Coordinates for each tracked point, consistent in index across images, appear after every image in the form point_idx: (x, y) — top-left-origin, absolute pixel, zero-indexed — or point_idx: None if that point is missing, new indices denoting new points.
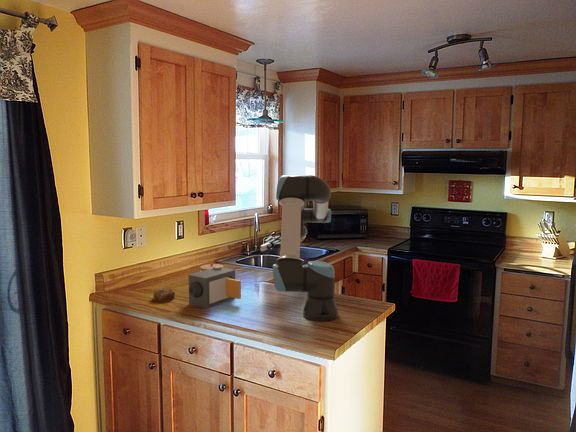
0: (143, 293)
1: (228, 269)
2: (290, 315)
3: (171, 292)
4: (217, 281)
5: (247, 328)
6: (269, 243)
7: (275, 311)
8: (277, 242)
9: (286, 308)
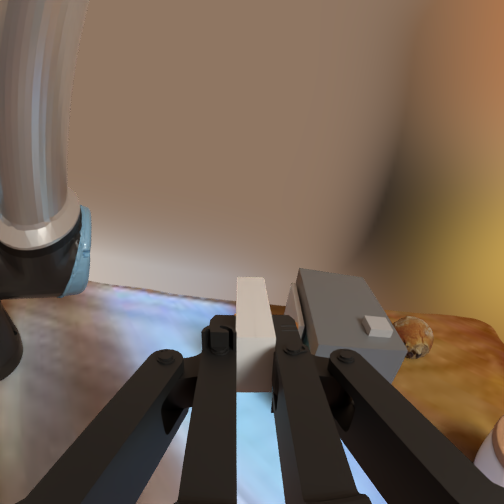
0: (461, 348)
1: (344, 339)
2: (53, 348)
3: (399, 333)
4: (293, 302)
5: (129, 288)
6: (236, 325)
7: (97, 365)
8: (189, 440)
9: (70, 390)
